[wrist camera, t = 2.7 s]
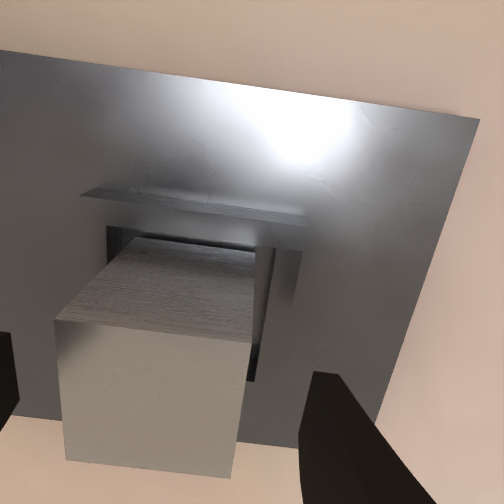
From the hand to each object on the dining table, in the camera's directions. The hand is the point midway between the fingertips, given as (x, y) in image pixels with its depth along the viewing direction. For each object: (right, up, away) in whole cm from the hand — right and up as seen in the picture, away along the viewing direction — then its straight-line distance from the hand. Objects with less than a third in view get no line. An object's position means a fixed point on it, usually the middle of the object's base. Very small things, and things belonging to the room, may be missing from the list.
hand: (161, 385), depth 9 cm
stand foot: (0, +2, +5) cm, 6 cm away
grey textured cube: (0, +1, +4) cm, 4 cm away
